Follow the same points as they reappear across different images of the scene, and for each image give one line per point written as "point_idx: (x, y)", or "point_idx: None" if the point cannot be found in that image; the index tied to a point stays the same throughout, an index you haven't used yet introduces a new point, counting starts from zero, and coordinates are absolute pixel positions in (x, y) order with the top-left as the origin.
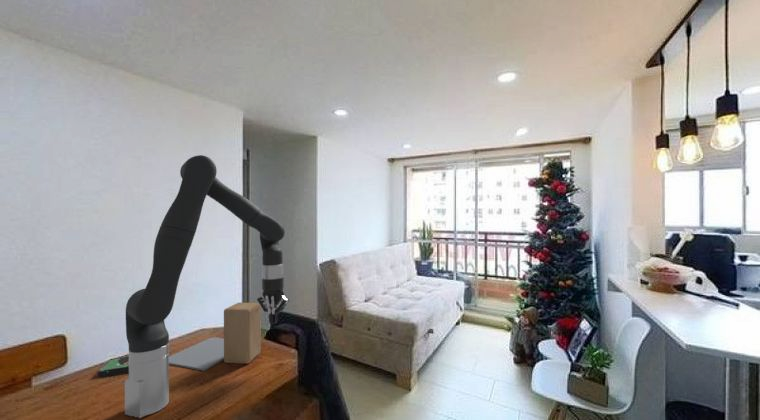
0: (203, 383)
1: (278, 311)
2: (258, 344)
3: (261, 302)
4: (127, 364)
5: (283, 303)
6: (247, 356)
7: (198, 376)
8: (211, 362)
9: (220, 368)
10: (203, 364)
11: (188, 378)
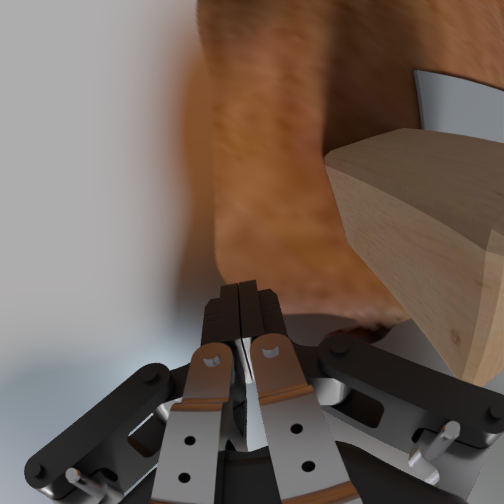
0: (340, 7)
1: (133, 377)
2: (358, 241)
3: (437, 406)
4: None
5: (49, 453)
6: (335, 156)
7: (395, 38)
8: (434, 113)
9: (385, 96)
10: (442, 96)
11: (407, 25)
